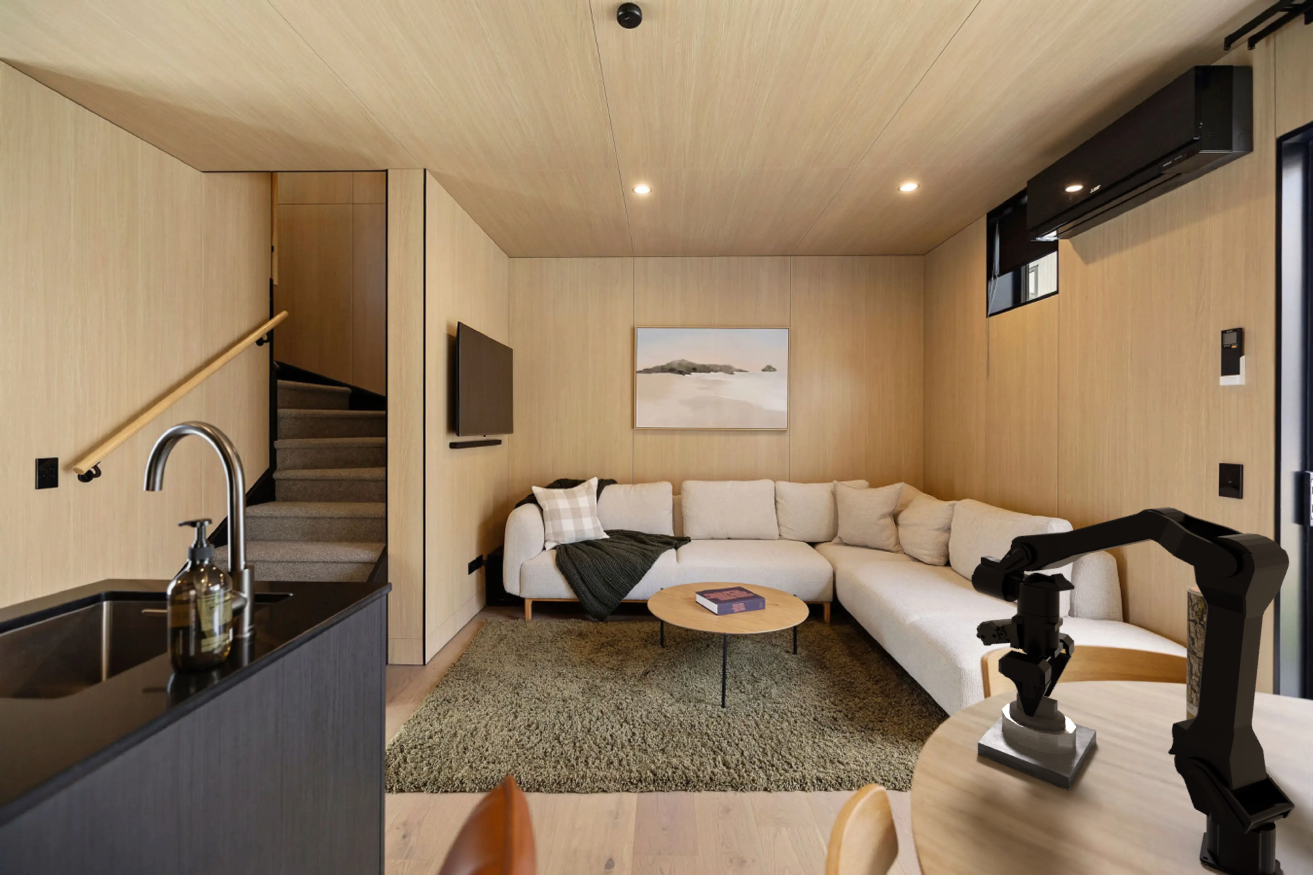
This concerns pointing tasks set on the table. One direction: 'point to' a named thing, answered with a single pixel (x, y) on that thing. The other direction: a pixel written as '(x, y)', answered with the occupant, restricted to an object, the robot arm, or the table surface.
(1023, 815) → the table surface
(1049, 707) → the grip bar knob
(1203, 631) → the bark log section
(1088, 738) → the ring on base plate
